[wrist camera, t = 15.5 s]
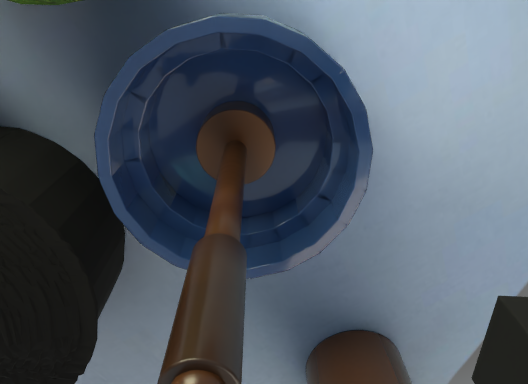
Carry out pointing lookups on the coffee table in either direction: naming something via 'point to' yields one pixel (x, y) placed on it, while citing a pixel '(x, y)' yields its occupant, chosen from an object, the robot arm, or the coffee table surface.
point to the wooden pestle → (219, 252)
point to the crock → (356, 360)
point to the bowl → (192, 117)
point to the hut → (52, 260)
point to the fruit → (44, 2)
